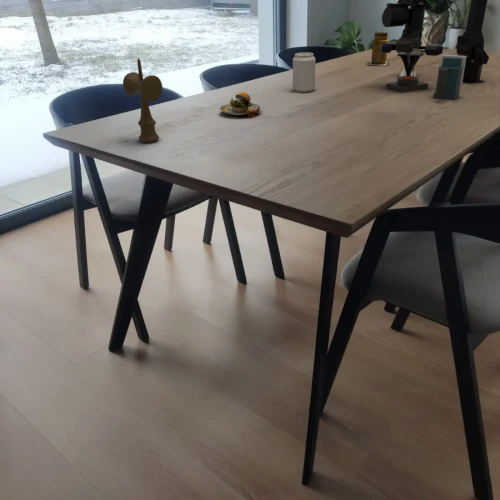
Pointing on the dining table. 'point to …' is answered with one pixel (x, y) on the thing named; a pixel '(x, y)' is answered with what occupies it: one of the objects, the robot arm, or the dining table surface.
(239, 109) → the burger
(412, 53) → the beer glass
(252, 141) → the dining table surface
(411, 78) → the power button
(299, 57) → the can
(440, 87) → the iron
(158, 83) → the kendama
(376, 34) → the condiment
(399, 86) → the switch block
